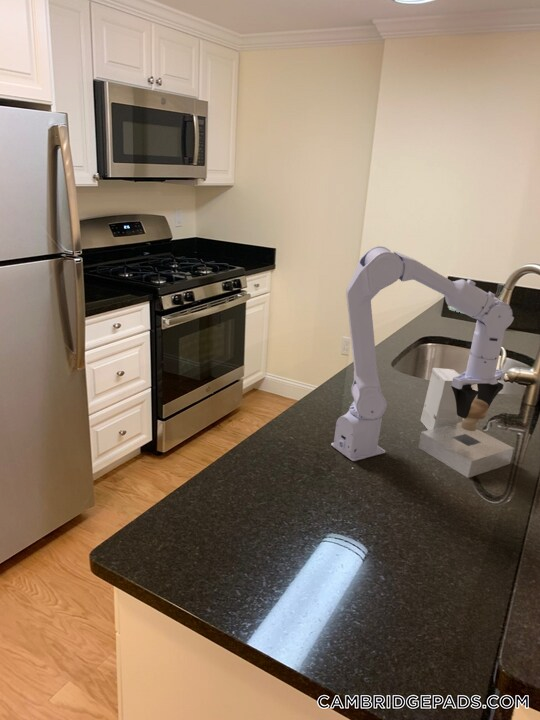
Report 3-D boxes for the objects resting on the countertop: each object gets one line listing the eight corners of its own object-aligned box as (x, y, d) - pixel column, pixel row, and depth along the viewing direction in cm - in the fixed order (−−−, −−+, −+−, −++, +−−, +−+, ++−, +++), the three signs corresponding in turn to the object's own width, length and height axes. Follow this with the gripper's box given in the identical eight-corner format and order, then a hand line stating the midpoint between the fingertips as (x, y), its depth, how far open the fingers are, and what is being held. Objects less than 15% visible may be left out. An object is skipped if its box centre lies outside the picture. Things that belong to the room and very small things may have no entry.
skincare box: (419, 421, 135) (430, 366, 130) (442, 422, 136) (453, 367, 131) (432, 437, 127) (443, 379, 122) (456, 437, 128) (468, 380, 123)
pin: (470, 435, 113) (476, 410, 111) (449, 424, 117) (454, 399, 115) (488, 431, 115) (494, 405, 114) (466, 420, 120) (472, 395, 118)
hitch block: (467, 477, 110) (471, 461, 109) (418, 447, 121) (421, 431, 120) (509, 464, 117) (513, 447, 116) (459, 436, 128) (462, 421, 127)
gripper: (477, 365, 104) (463, 427, 108) (522, 357, 111) (508, 416, 116) (449, 354, 110) (437, 413, 114) (494, 347, 117) (481, 403, 121)
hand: (471, 414), depth 115 cm, fingers closed on pin, 6 cm apart
